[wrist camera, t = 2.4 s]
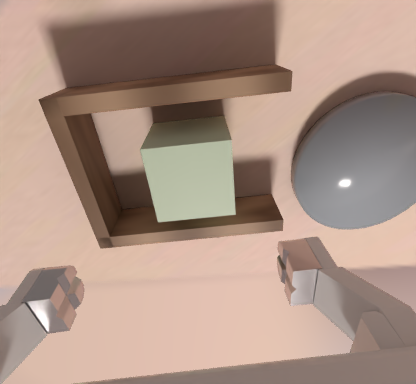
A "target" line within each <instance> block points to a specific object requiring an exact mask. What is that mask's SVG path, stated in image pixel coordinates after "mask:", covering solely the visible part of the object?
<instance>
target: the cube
mask: <svg viewBox="0 0 416 384" xmlns="http://www.w3.org/2000/svg"><path fill="white" fill-rule="evenodd" d="M140 151H141V155H142V160H143V164H144V168H145V172H146V176H147V180H148V184H149V188H150V192H151V196H152V200H153V204H154V208H155V212H156V216H157V220H158V222H167V221H177V220H187V219H197V218H207V217H217V216H227V215H236V211H235V193H234V175H233V157H232V140H231V137H230V133H229V130H228V127H227V124H226V121H225V117H224V116H216V117H207V118H197V119H188V120H179V121H170V122H161V123H153V125H152V127H151V129H150V131H149V133H148V135H147V137H146V139H145V141H144V143H143V145H142V147H141V149H140Z"/></svg>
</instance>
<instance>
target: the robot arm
mask: <svg viewBox="0 0 416 384" xmlns="http://www.w3.org/2000/svg"><path fill="white" fill-rule="evenodd" d="M278 252H279V254H280V255H279V256H278V257H277V267H278V273H279V276H280V279H281V282H283V283H284V284H285V293H286V296H287V298H288V301H289V304H290V306H294V305H306V304H313V305H314V306H315V307H316V308H317V309H318V310H319V311H320V312H321V313H322V314H324V315H325V316H326V317H327V318H328V319H329V320H330V321H331V322H332V323H334V324H335V325H336V326H337V327H338V328H339V329H340V330H341V331H343V332H344V333H345V334H346V335H347V336H348V337H349V338H350V339H351V340H352V341H353V344H352V348H351V351H350V353H346V354H337V355H328V356H320V357H310V358H301V359H292V360H282V361H274V362H264V363H256V364H247V365H238V366H228V367H219V368H211V369H201V370H193V371H183V372H174V373H165V374H156V375H147V376H138V377H129V378H120V379H112V380H103V381H93V382H85V383H75V384H416V313H415V312H414V311H413V309H412V308H411V307H410V306H408V305H407V304H405V303H403V302H402V301H400V300H398V299H396V298H395V297H393V296H391V295H390V294H388V293H386V292H384V291H383V290H381V289H379V288H377V287H376V286H374V285H372V284H370V283H369V282H367V281H365V280H364V279H362V278H360V277H358V276H357V275H355V274H353V273H352V272H350V271H348V270H346V269H345V268H343V267H337V265H336V264H335V262H334V260H333V259H332V257H331V256H330V254H329V253H328V251H327V250H326V248H325V246H324V245H323V243H322V242H321V240H320V239H319V238H318V237H311V238H304V239H296V240H288V241H279V242H278ZM76 274H77V271H76V269H75V267H74V266H59V267H48V268H40V269H33V270H31V271H29V273H28V274H27V276H26V277H25V279H24V280H23V281H22V283H21V284H20V286H19V287H18V289H17V290H16V291H15V293H14V294H13V296H12V297H11V299H10V300H9V302H8V303H7V304H6V305H2V306H0V384H2V383H3V382H4V381H5V380H6V379H7V378H8V377H9V375H10V374H11V373H12V372H13V371H14V370H15V369H16V368H17V367H18V366H19V365H20V363H22V362H23V360H24V359H25V358H26V357H27V356H28V355H29V354H30V353H31V352H32V351H33V350H34V349H35V348H36V346H38V344H39V343H40V342H41V341H42V340H43V339H44V338H45V337H46V336H47V334H49V333H56V332H62V331H69V330H70V329H71V326H72V324H73V322H74V319H75V317H76V312H75V309H76V308H77V307H78V306H79V305H80V304H81V302H82V300H83V296H84V285H83V283H82V281H81V279H79V278H77V277H76Z"/></svg>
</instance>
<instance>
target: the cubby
mask: <svg viewBox="0 0 416 384" xmlns="http://www.w3.org/2000/svg"><path fill="white" fill-rule="evenodd" d="M291 84H292V71H291V70H288V69H286V68H283V67H281V66H278V65H276V64H275V65H266V66H257V67H249V68H240V69H231V70H222V71H213V72H204V73H195V74H186V75H178V76H169V77H160V78H151V79H142V80H133V81H124V82H116V83H107V84H98V85H89V86H80V87H71V88H65V89H63V90H60V91H58V92H56V93H53V94H51V95H48V96H46V97H44V98H41V99H39V102H40V104H41V107H42V109H43V112H44V114H45V116H46V119H47V121H48V124H49V126H50V128H51V131H52V133H53V136H54V138H55V140H56V143H57V145H58V148H59V150H60V152H61V155H62V157H63V160H64V162H65V164H66V167H67V169H68V172H69V174H70V176H71V179H72V181H73V184H74V186H75V188H76V191H77V193H78V196H79V198H80V200H81V203H82V205H83V208H84V210H85V212H86V215H87V217H88V220H89V222H90V224H91V227H92V229H93V231H94V234H95V236H96V239H97V241H98V243H99V246H100V248H112V247H122V246H132V245H142V244H152V243H163V242H173V241H183V240H193V239H203V238H214V237H224V236H234V235H244V234H254V233H265V232H275V231H283V218H282V216H281V214H280V212H279V209H278V207H277V205H276V203H275V201H274V198H273V196H272V194H270V195H260V196H251V197H241V198H235V211H236V215H227V216H217V217H207V218H197V219H187V220H177V221H167V222H158V220H157V216H156V212H155V208H154V206H152V207H142V208H132V209H121V206H120V202H119V199H118V196H117V193H116V190H115V187H114V184H113V181H112V178H111V175H110V172H109V169H108V166H107V163H106V160H105V157H104V154H103V151H102V148H101V144H100V141H99V138H98V135H97V132H96V129H95V126H94V123H93V120H92V117H91V114H90V113H98V112H107V111H116V110H125V109H134V108H143V107H152V106H161V105H170V104H179V103H188V102H197V101H207V100H216V99H225V98H234V97H243V96H252V95H261V94H270V93H279V92H288V91H291Z"/></svg>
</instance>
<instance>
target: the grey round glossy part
mask: <svg viewBox="0 0 416 384" xmlns="http://www.w3.org/2000/svg"><path fill="white" fill-rule="evenodd" d="M291 182H292V188H293V191H294V194H295V196H296V198H297V200H298V201H299V203H300V205H301V206H302V208H303V209H304V211H305V212H306V213H307V214H308V215H309V216H310V217H311V218H312V219H314V220H315V221H317V222H318V223H320V224H323V225H325V226H328V227H331V228H337V229H359V228H366V227H370V226H374V225H377V224H380V223H382V222H385V221H387V220H389V219H391V218H393V217H395V216H397V215H399V214H400V213H402V212H404V211H405V210H407V209H408V208H409V207H411V206H412V205H413V204H415V203H416V97H413V96H410V95H406V94H402V93H399V92H390V91H383V92H373V93H367V94H364V95H360V96H357V97H354V98H352V99H350V100H347V101H345V102H343V103H342V104H340V105H338V106H336V107H335V108H333V109H332V110H330V111H329V112H328V113H326V114H325V115H324V116H323V117H322V118H320V119H319V120H318V121H317V122H316V123H315V124H314V125H313V127H312V128H311V129H310V130H309V131H308V133H307V134H306V135H305V137H304V138H303V140H302V142H301V143H300V145H299V147H298V149H297V151H296V154H295V156H294V160H293V163H292V170H291Z"/></svg>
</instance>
